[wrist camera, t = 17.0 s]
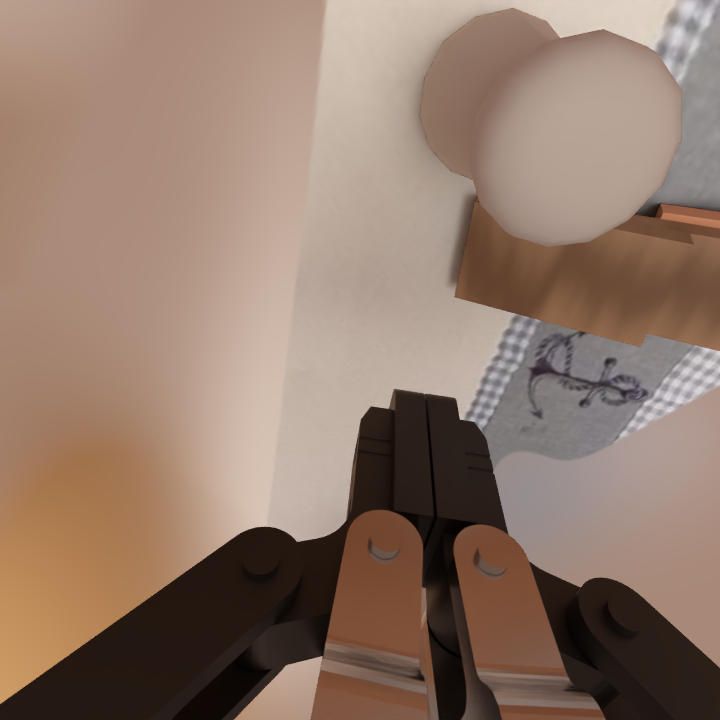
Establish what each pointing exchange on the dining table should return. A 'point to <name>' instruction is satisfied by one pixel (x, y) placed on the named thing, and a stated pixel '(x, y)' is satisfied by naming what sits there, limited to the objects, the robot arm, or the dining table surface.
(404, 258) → the dining table surface
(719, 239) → the domino
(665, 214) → the domino
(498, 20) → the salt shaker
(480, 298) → the domino
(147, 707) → the robot arm
